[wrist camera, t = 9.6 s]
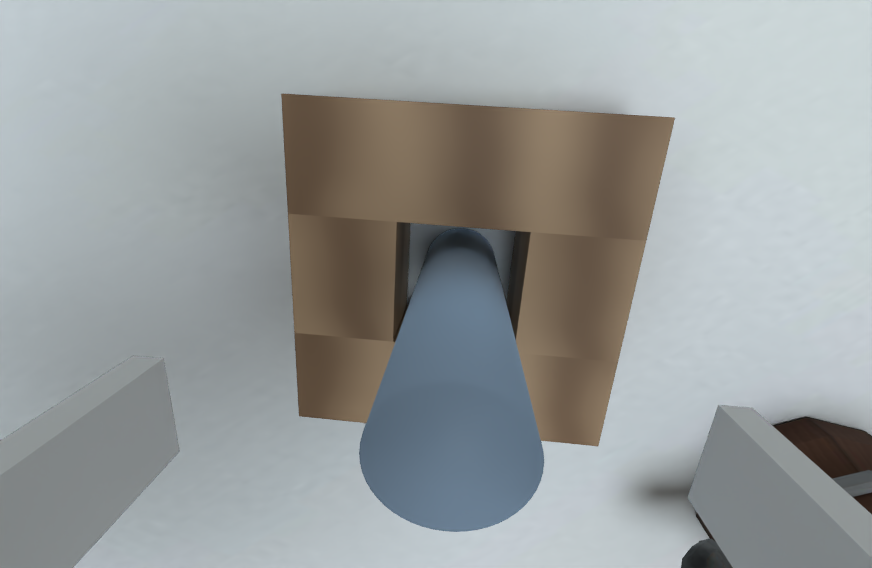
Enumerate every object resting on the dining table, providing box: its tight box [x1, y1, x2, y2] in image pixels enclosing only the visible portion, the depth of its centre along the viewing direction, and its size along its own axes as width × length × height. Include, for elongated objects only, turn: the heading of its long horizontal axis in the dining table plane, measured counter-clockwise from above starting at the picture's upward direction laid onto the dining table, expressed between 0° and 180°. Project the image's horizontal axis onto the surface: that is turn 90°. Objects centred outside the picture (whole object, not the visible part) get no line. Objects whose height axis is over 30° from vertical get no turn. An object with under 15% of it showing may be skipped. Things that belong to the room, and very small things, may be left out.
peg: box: [359, 228, 544, 532], centre depth 16 cm, size 4×4×16 cm
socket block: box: [281, 94, 675, 446], centre depth 22 cm, size 16×16×5 cm
